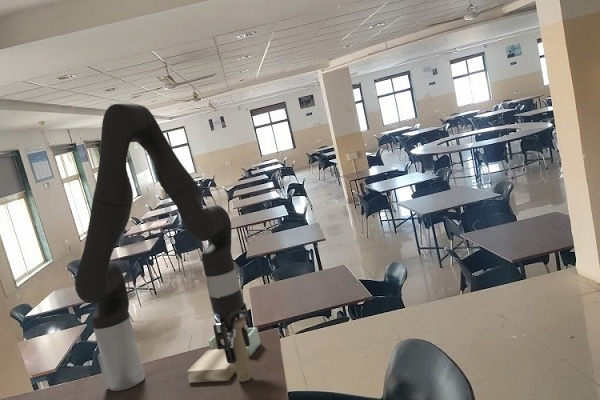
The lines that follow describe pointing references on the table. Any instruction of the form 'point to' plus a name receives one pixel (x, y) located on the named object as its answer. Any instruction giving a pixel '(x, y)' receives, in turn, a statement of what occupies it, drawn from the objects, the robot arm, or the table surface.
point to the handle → (241, 353)
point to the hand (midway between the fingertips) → (239, 354)
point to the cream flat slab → (211, 367)
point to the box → (253, 340)
